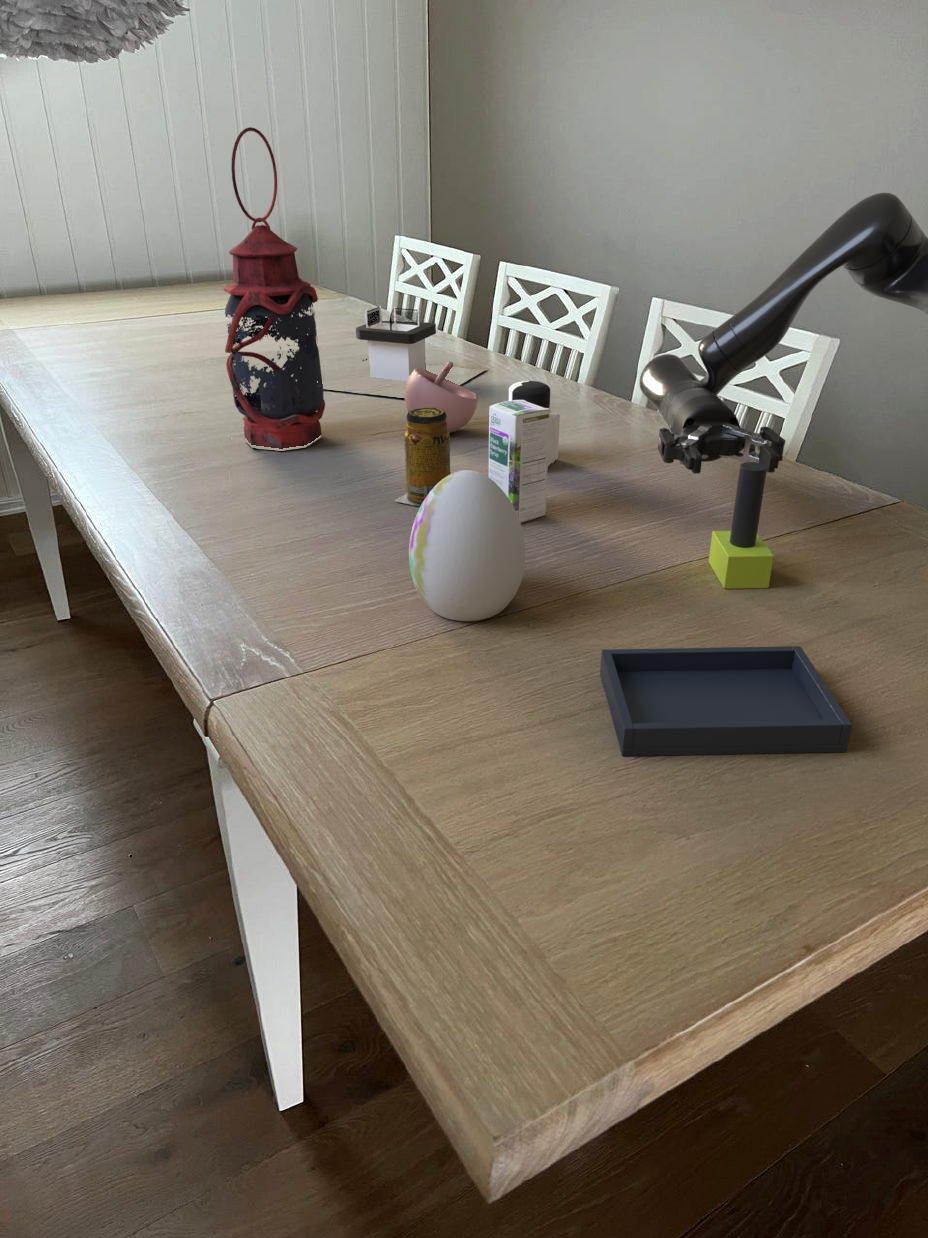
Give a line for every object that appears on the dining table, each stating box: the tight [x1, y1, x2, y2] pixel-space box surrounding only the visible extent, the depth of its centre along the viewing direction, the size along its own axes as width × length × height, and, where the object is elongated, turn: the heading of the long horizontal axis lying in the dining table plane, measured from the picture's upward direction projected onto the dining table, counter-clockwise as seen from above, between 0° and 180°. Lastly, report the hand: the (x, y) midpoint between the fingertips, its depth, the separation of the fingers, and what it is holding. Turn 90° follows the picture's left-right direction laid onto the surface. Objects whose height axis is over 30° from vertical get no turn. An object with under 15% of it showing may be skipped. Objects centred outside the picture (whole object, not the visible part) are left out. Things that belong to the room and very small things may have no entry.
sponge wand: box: [708, 461, 775, 590], centre depth 102 cm, size 5×7×13 cm
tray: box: [599, 645, 853, 757], centre depth 81 cm, size 19×13×3 cm
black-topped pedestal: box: [355, 305, 437, 381], centre depth 181 cm, size 28×26×13 cm
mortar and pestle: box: [404, 361, 479, 434], centre depth 151 cm, size 12×12×12 cm
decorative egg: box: [408, 469, 526, 622], centre depth 96 cm, size 12×12×15 cm
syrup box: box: [487, 400, 551, 524], centre depth 118 cm, size 6×6×14 cm
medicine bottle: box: [508, 380, 561, 467], centre depth 137 cm, size 7×7×12 cm
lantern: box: [222, 126, 326, 449], centre depth 140 cm, size 16×15×45 cm
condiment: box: [394, 407, 452, 507], centre depth 124 cm, size 7×8×12 cm
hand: (735, 464), depth 106 cm, fingers open, 8 cm apart
